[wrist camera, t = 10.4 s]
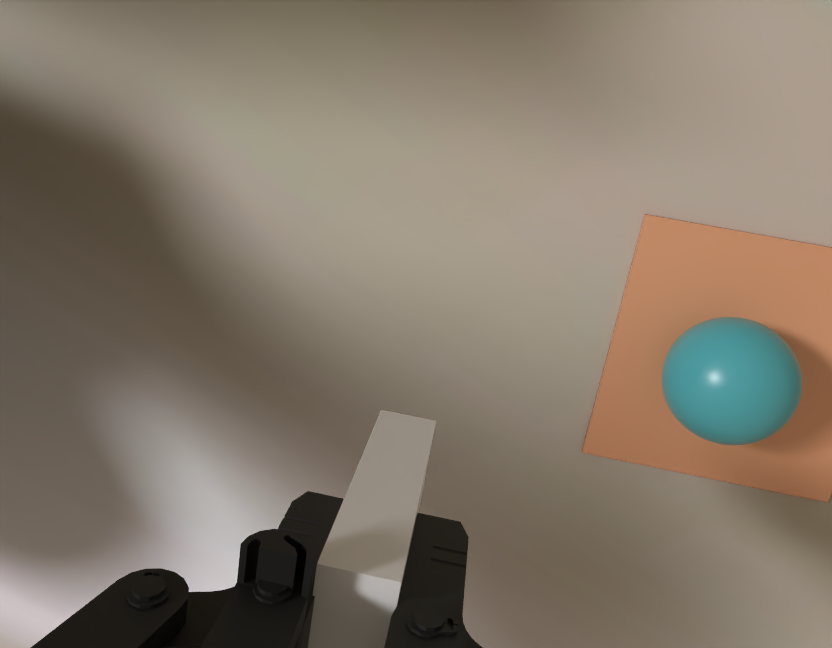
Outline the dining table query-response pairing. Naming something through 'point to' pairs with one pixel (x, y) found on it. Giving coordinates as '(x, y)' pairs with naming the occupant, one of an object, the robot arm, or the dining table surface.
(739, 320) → the ball
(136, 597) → the robot arm
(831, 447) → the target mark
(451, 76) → the dining table surface
